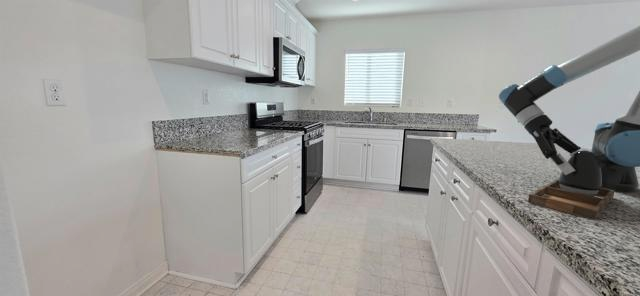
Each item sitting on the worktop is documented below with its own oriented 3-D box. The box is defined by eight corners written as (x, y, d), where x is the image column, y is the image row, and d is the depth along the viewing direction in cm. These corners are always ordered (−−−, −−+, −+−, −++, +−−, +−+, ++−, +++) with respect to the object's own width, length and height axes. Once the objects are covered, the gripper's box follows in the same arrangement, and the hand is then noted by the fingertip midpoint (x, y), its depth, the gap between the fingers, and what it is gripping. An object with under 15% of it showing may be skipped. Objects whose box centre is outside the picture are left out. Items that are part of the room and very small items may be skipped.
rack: (555, 185, 99) (556, 179, 98) (613, 197, 87) (614, 190, 87) (527, 202, 82) (528, 194, 82) (594, 220, 70) (596, 211, 70)
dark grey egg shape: (608, 202, 83) (619, 154, 80) (569, 199, 85) (579, 152, 82) (584, 191, 93) (593, 148, 90) (549, 189, 95) (557, 146, 92)
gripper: (541, 125, 106) (583, 171, 96) (505, 128, 95) (549, 180, 84) (560, 113, 101) (607, 160, 90) (525, 113, 89) (574, 168, 79)
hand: (579, 170), depth 87 cm, fingers open, 13 cm apart
